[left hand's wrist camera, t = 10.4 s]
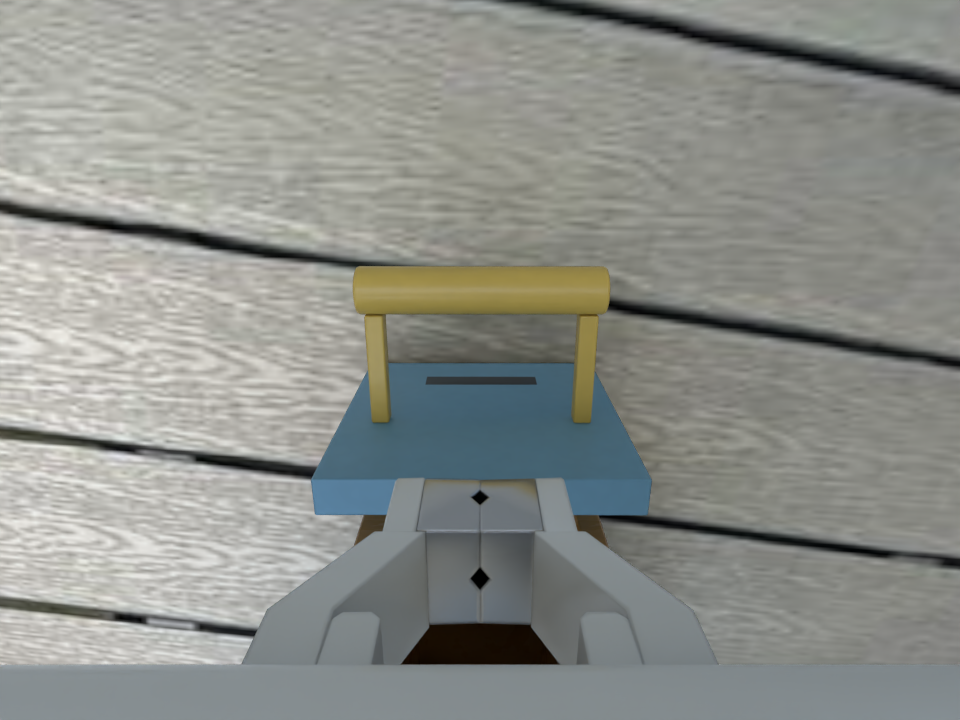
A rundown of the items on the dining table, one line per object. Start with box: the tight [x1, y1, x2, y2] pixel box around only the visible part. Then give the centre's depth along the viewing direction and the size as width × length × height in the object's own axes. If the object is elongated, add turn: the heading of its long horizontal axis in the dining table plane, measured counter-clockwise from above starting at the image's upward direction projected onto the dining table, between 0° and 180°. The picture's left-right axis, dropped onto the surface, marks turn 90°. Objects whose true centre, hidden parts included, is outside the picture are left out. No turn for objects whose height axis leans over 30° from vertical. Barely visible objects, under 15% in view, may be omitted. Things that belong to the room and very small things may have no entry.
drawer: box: [311, 266, 652, 665], centre depth 23 cm, size 25×10×9 cm, turn 0°
